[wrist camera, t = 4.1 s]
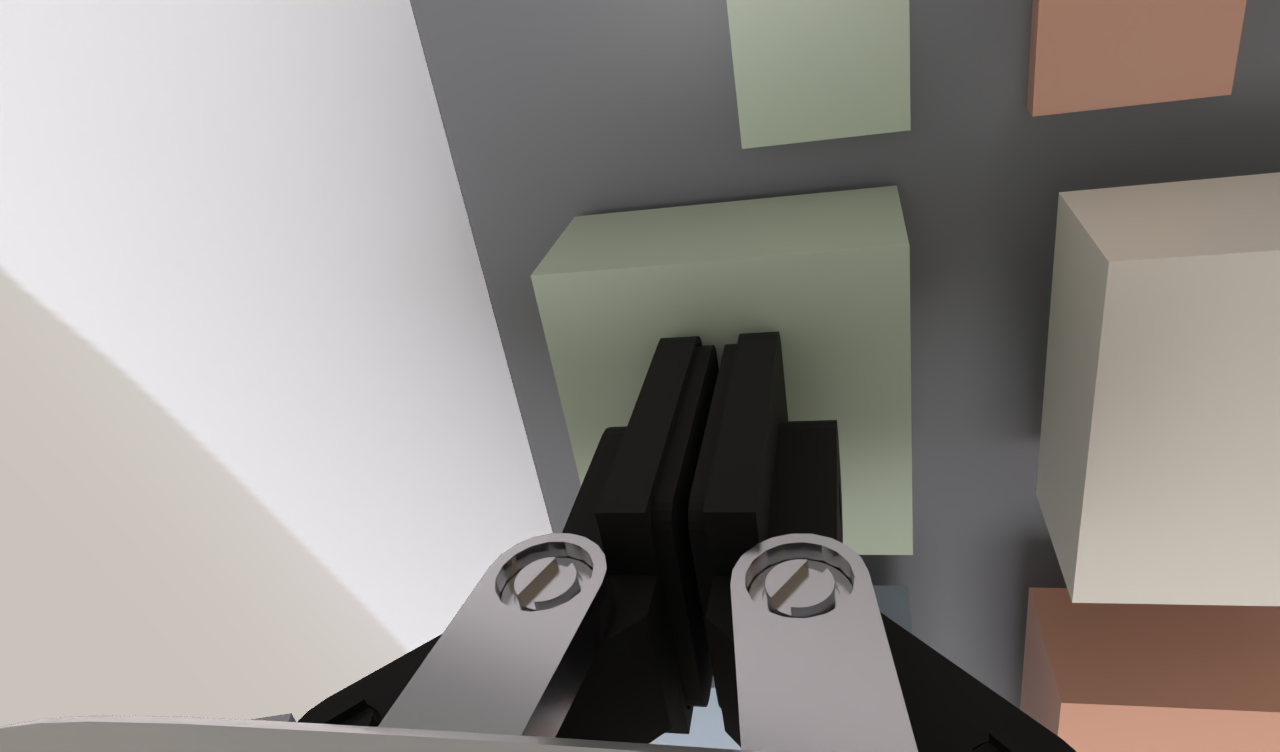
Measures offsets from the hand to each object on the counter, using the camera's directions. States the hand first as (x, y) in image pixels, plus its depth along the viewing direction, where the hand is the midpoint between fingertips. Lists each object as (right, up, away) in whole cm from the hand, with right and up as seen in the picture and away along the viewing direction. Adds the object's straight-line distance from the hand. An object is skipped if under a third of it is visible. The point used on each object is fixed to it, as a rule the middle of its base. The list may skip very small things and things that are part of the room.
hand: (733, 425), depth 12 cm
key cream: (+7, +1, 0) cm, 7 cm away
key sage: (0, +1, +2) cm, 3 cm away
